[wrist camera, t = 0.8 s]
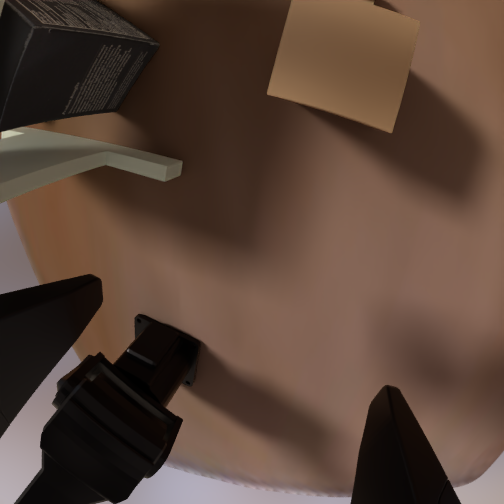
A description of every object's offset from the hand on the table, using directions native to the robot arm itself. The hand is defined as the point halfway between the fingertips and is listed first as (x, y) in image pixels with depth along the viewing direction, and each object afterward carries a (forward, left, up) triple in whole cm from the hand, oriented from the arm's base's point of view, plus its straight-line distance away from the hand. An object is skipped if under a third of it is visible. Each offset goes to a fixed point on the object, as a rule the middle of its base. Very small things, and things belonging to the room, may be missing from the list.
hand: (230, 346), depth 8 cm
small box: (+9, +18, -12) cm, 23 cm away
